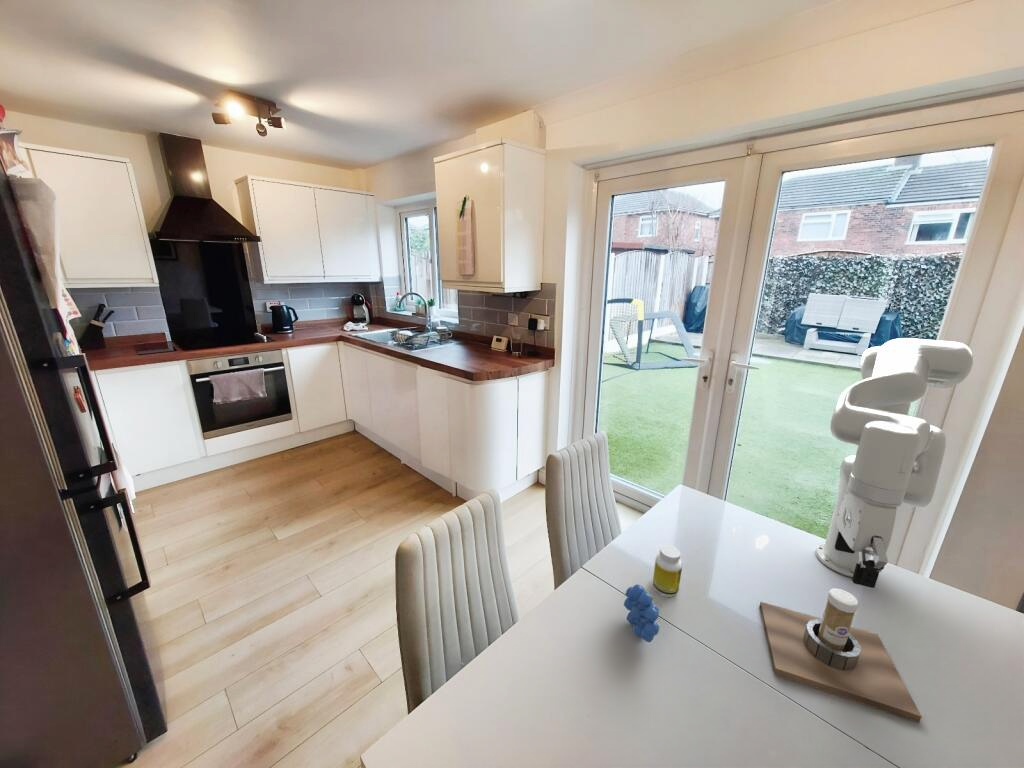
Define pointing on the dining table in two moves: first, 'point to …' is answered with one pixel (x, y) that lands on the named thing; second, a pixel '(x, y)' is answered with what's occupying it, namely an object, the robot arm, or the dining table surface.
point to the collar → (828, 654)
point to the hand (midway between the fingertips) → (852, 566)
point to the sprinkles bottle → (837, 619)
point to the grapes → (642, 612)
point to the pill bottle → (667, 571)
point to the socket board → (863, 684)
